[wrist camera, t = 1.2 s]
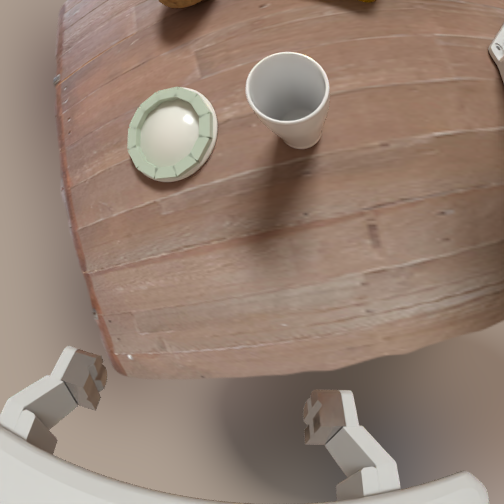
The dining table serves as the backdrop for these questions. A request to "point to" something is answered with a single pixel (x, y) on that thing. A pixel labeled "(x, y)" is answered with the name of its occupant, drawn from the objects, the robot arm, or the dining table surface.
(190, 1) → the potato
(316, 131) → the drinking glass
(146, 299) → the dining table surface
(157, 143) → the green rimmed plate
